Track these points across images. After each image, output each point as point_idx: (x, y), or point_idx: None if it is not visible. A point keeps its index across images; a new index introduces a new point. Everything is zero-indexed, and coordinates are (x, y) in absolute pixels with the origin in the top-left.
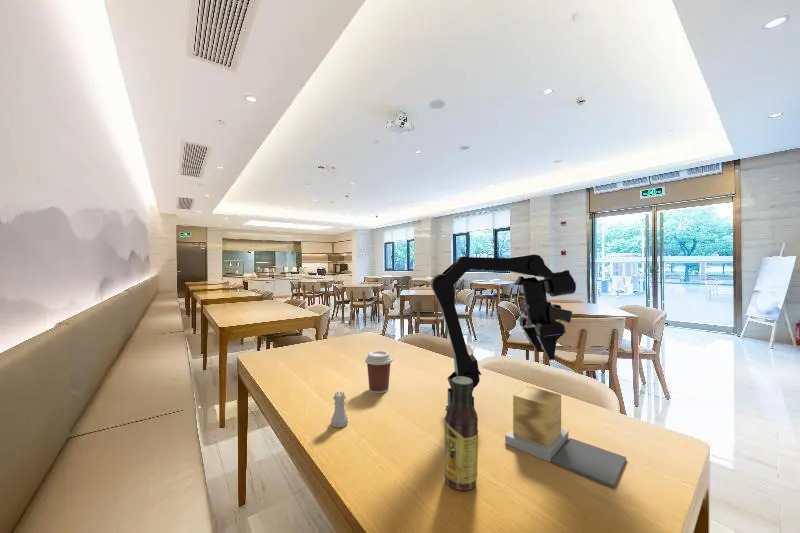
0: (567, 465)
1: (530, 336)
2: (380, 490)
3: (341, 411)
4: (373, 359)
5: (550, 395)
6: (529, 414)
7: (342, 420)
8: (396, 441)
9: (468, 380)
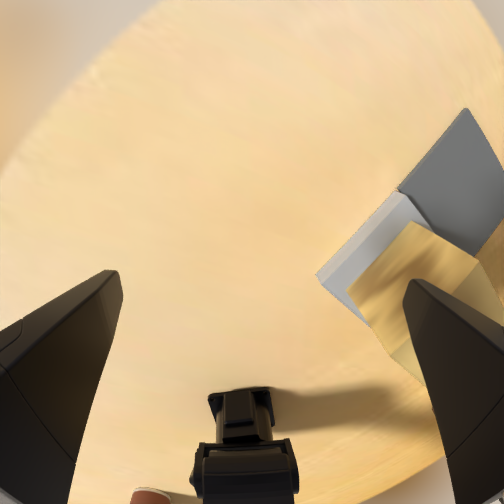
0: (476, 250)
1: (73, 439)
2: (429, 452)
3: None
4: None
5: (474, 300)
6: None
7: None
8: (345, 468)
9: None
